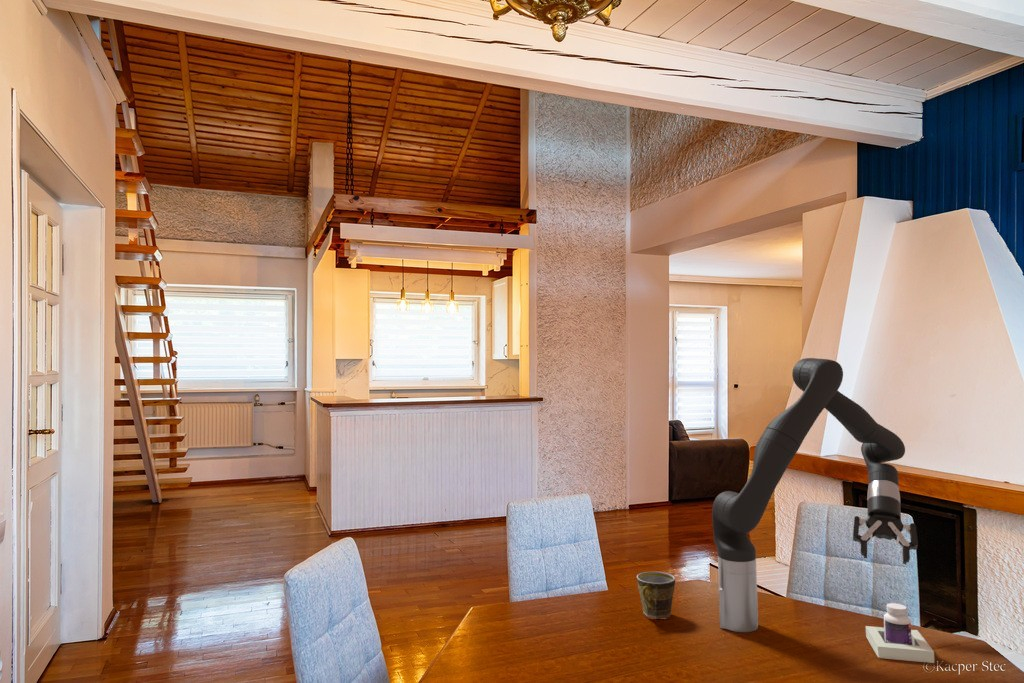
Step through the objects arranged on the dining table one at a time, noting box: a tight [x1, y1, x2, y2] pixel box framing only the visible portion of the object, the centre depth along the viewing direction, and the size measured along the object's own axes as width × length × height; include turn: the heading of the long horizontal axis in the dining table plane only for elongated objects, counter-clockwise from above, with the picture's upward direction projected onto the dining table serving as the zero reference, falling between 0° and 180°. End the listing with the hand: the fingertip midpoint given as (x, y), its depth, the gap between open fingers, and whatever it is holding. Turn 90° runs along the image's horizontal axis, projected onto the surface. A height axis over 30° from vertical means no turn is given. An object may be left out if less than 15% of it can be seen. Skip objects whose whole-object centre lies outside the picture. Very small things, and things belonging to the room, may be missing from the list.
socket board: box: [865, 625, 935, 664], centre depth 153 cm, size 11×12×2 cm
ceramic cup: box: [636, 571, 676, 619], centre depth 175 cm, size 13×10×10 cm
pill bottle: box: [883, 602, 912, 645], centre depth 153 cm, size 5×5×10 cm
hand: (885, 559), depth 165 cm, fingers open, 8 cm apart
